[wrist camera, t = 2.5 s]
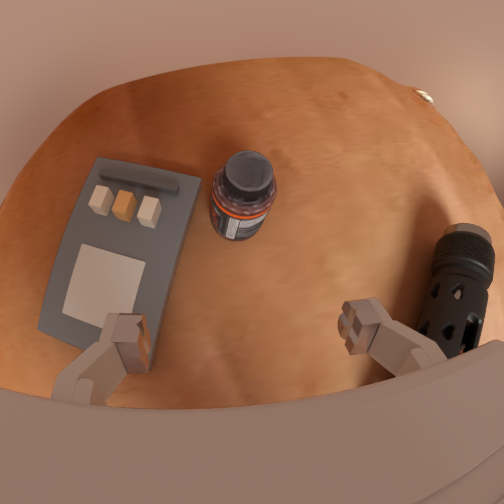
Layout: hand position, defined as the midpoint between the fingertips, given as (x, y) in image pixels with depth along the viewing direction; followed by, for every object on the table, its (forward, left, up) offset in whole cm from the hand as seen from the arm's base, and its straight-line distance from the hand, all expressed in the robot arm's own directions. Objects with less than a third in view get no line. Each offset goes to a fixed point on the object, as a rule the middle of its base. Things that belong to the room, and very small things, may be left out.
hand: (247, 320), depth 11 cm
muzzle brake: (+3, -27, -20) cm, 34 cm away
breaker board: (+4, +13, -20) cm, 25 cm away
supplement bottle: (+12, +1, -20) cm, 24 cm away
